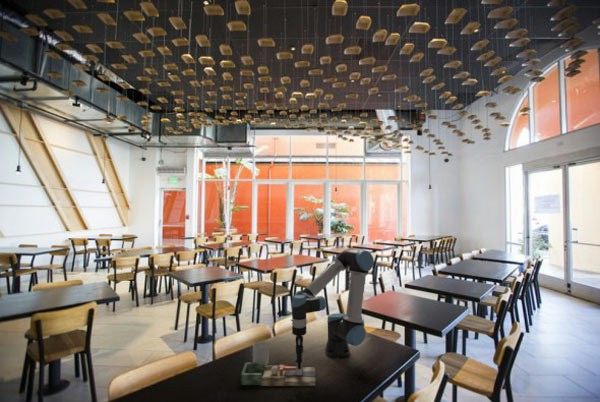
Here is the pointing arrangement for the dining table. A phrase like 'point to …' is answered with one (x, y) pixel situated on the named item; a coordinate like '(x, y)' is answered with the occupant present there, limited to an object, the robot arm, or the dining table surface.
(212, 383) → the dining table surface
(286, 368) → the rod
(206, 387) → the dining table surface
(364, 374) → the dining table surface
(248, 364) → the lane
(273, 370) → the ball
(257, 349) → the mug
